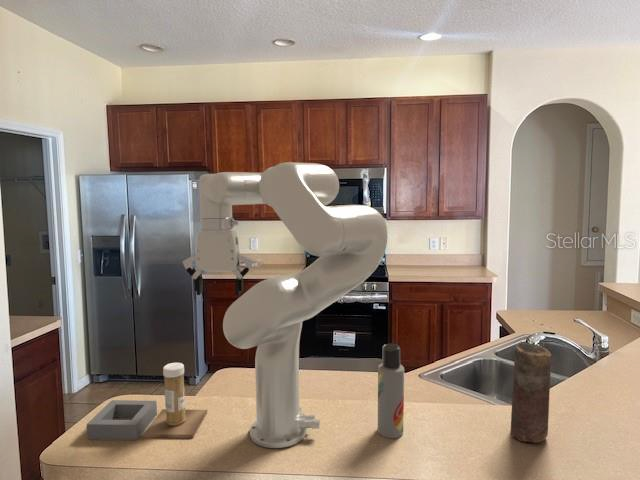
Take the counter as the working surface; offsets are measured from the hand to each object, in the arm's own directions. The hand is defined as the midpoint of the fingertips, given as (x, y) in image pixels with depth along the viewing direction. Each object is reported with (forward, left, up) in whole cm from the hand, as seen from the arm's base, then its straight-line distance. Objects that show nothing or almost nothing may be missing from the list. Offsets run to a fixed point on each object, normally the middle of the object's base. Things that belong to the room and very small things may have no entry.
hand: (219, 293), depth 111 cm
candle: (-71, +14, -28) cm, 78 cm away
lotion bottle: (-41, +13, -28) cm, 52 cm away
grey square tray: (+20, +12, -28) cm, 37 cm away
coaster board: (+8, +11, -28) cm, 31 cm away
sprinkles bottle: (+8, +11, -28) cm, 31 cm away
